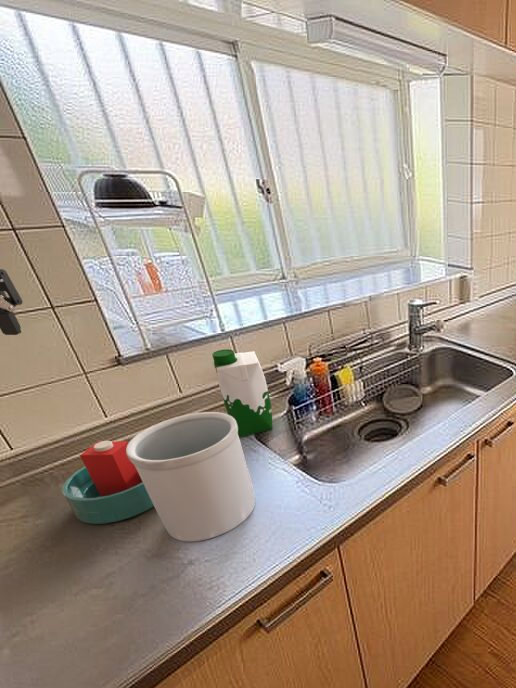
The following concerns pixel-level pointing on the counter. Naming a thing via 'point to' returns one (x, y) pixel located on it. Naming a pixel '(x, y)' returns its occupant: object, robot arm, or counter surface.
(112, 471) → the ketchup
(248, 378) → the milk carton
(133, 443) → the utensil holder
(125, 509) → the teal bowl
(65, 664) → the counter surface
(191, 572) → the counter surface
